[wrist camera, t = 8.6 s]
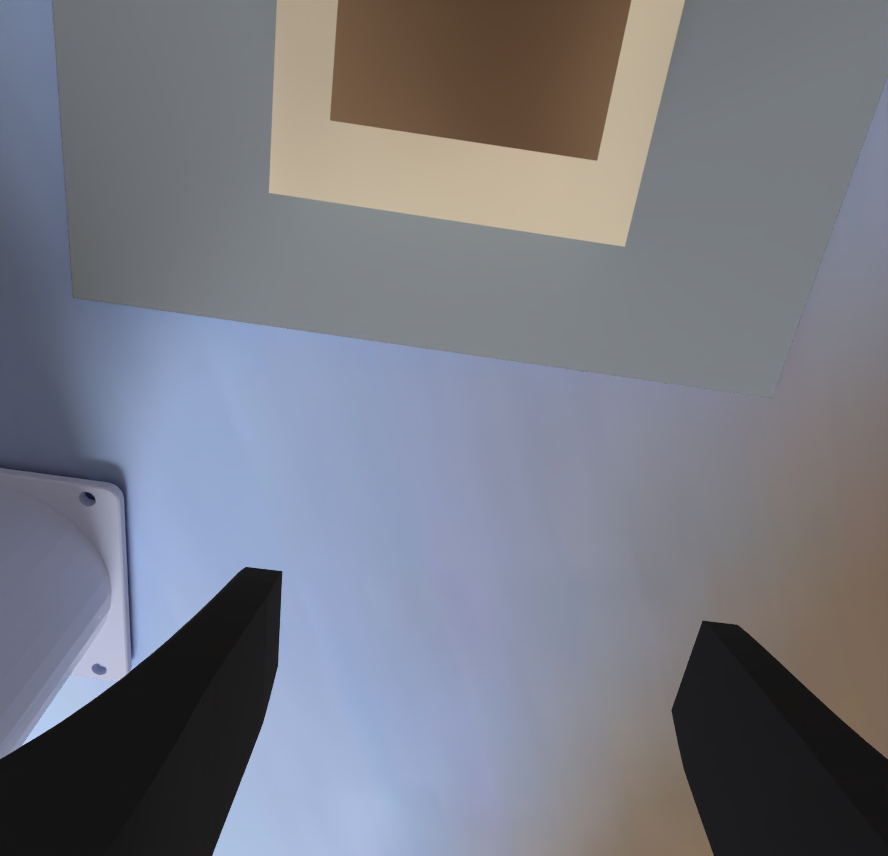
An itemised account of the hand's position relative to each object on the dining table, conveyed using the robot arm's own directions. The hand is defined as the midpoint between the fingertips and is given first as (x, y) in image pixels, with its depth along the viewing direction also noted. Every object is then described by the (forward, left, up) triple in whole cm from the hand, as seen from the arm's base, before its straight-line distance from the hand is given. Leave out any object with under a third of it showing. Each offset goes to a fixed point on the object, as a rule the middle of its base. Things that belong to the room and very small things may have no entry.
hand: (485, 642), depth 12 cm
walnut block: (-2, +10, -7) cm, 12 cm away
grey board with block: (-2, +10, -10) cm, 14 cm away
